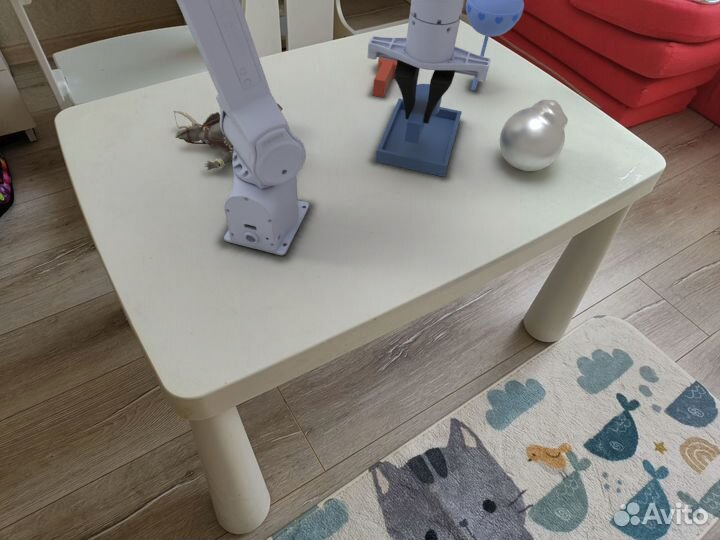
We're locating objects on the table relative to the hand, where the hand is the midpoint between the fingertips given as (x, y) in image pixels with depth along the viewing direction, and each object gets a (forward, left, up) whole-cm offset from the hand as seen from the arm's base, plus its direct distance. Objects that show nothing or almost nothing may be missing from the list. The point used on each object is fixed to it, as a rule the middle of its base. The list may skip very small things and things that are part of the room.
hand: (418, 117), depth 68 cm
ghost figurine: (+7, -16, -9) cm, 19 cm away
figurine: (-2, +25, -9) cm, 27 cm away
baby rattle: (+25, -6, -9) cm, 27 cm away
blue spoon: (+2, 0, -2) cm, 2 cm away
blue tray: (+7, 0, -9) cm, 11 cm away
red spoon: (+22, +9, -9) cm, 25 cm away
